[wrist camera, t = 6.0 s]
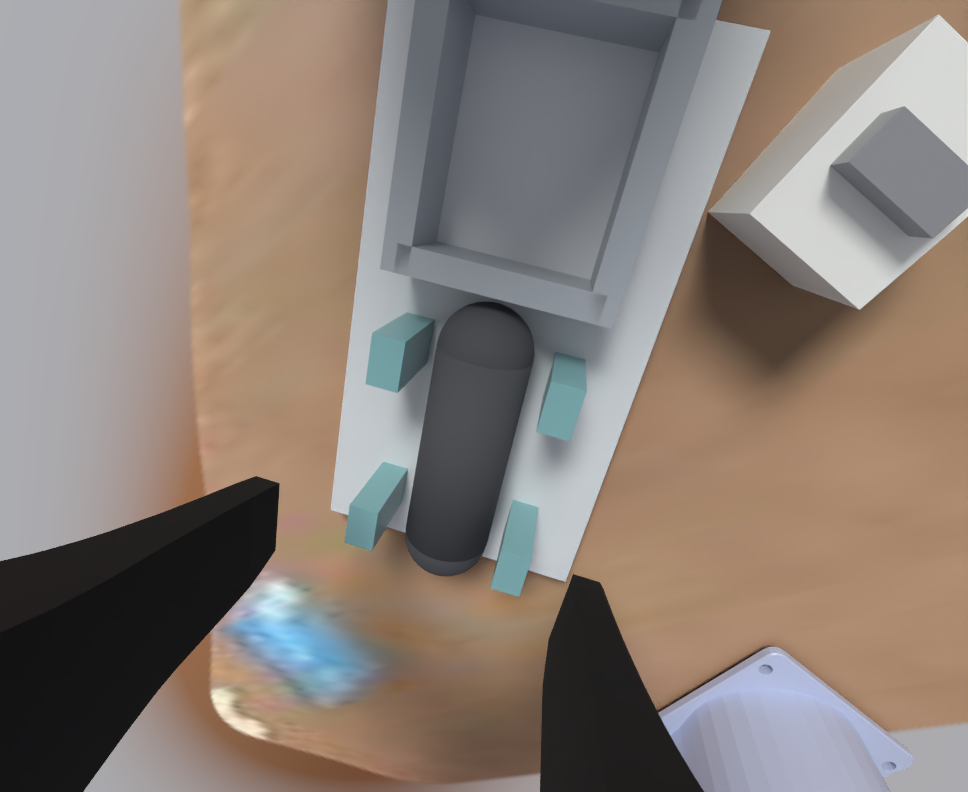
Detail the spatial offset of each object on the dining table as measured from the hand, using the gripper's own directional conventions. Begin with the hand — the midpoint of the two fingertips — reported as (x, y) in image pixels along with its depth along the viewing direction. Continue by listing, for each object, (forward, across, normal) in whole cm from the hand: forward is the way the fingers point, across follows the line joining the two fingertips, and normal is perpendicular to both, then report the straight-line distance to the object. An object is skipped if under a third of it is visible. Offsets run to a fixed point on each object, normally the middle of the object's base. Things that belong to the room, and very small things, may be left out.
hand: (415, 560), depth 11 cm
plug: (+8, -8, -10) cm, 15 cm away
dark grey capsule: (+7, 0, 0) cm, 7 cm away
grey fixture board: (+8, 0, -4) cm, 9 cm away
